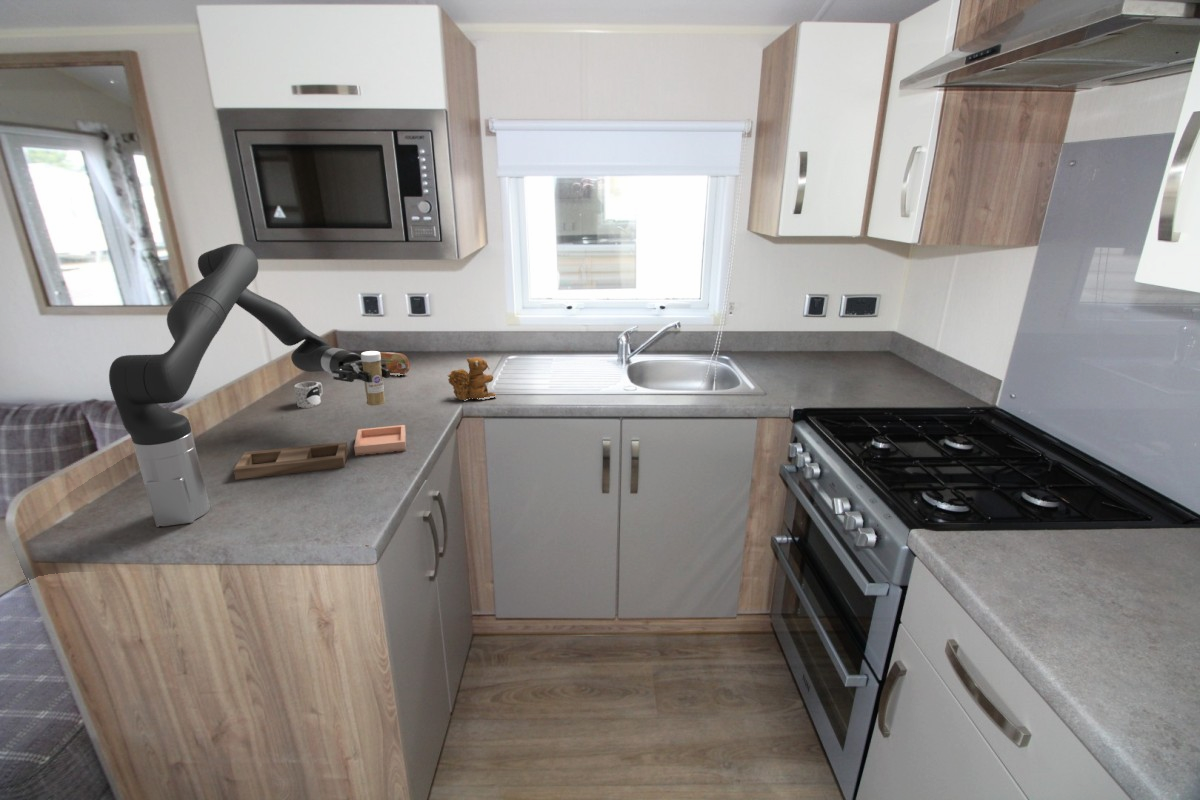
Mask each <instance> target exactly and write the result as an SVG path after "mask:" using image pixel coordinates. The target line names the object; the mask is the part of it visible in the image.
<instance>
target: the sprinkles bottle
mask: <svg viewBox="0 0 1200 800" xmlns="http://www.w3.org/2000/svg"><path fill="white" fill-rule="evenodd" d="M380 352H381V351H377V350H369V351H368V350H367V351H363V352H361V354H360V356H361V361H362V363H363V371H364V372H367V373H370V374H371V378H372V382H370V383H368V382H365V381H363V382H364V391H365V394H366V404H367V405H368V406H373V407H374V406H381V405H383V404H385V403H386V398H385V389H384V379H383V378H384V377H382V371H381V363H380V360H381V355H380Z"/></svg>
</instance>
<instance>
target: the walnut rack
mask: <svg viewBox="0 0 1200 800" xmlns="http://www.w3.org/2000/svg"><path fill="white" fill-rule="evenodd" d="M335 454H336V455H335ZM348 454H349V444H348V441H339V442H333V443H332V442H331V443H322V444H312V445H311V444H309V445H302V446H293V447H292V446H291V447H282V448H273V449H272V448H271V449H263V450H252V451H245V452H244V453H243V454H242V455H241V457H240V459H239V461H238V462H237V463H236V464H235V466H234V467H233V475H234V478H235V479H234V480H243V479H244V480H245V479H251V478H253V479H254V478H261V477H271V476H278V475H279V476H280V475H287V474H295V473H297V474H298V473H304V472H313V471H323V470H332V469H333V470H334V469H341V467H342V468H345V467H346V463H347V458H348ZM327 455H328V456H327ZM345 462H346V463H345Z"/></svg>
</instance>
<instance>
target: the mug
mask: <svg viewBox="0 0 1200 800" xmlns="http://www.w3.org/2000/svg"><path fill="white" fill-rule="evenodd" d="M293 388H294V389H293V390H294V395H295V400H296V404H297V405H296V406H298V407H297V408H299V407H301V408H300V409H311V408H310V407H313V408H316V407H318V406H317V405H319V404H320V403H321V404H322V400H321V397H322V396H323V395H324V388H323V385H322V382H321V381H313V380H312V381H309V380H308V381H301V382H298V383H295V384H294V385H293ZM321 404H320V405H321ZM320 405H319V406H320ZM315 406H316V407H315Z"/></svg>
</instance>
